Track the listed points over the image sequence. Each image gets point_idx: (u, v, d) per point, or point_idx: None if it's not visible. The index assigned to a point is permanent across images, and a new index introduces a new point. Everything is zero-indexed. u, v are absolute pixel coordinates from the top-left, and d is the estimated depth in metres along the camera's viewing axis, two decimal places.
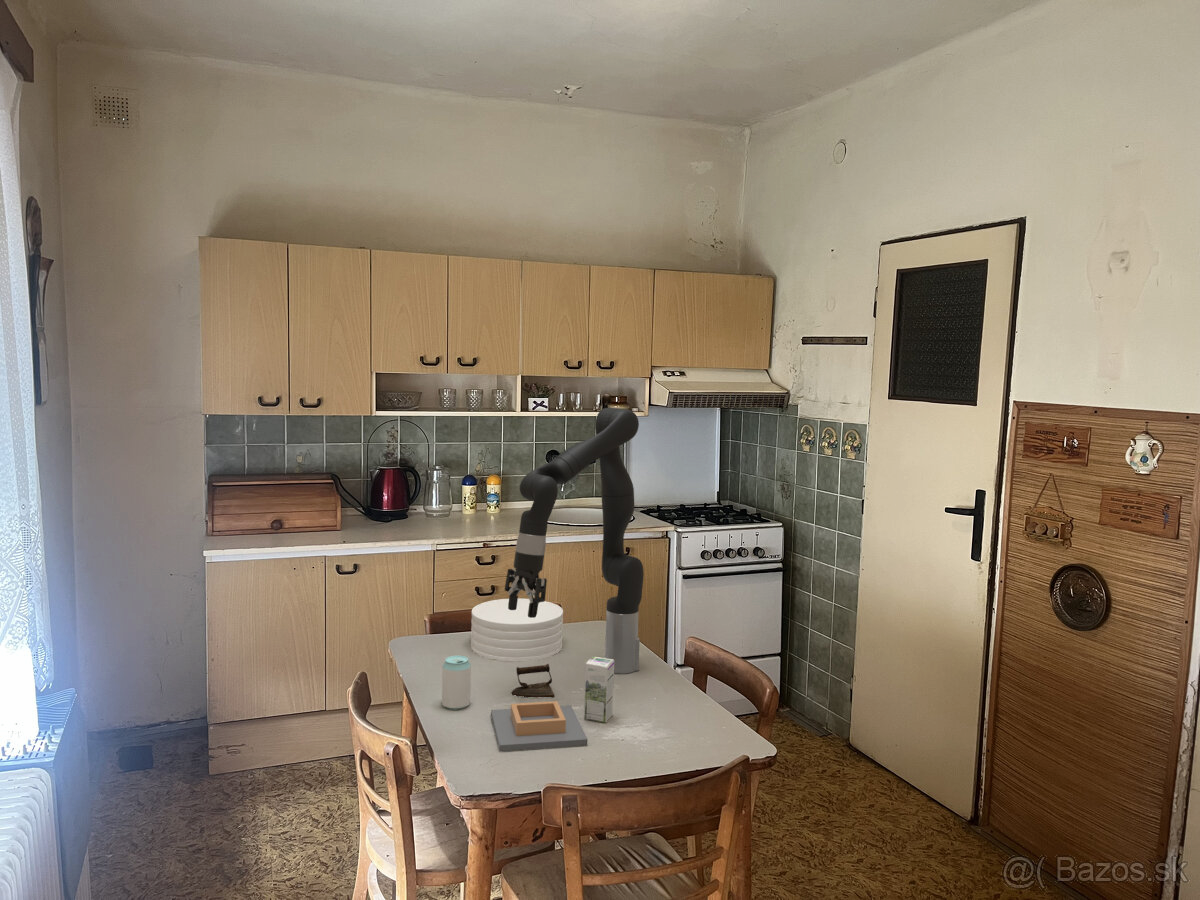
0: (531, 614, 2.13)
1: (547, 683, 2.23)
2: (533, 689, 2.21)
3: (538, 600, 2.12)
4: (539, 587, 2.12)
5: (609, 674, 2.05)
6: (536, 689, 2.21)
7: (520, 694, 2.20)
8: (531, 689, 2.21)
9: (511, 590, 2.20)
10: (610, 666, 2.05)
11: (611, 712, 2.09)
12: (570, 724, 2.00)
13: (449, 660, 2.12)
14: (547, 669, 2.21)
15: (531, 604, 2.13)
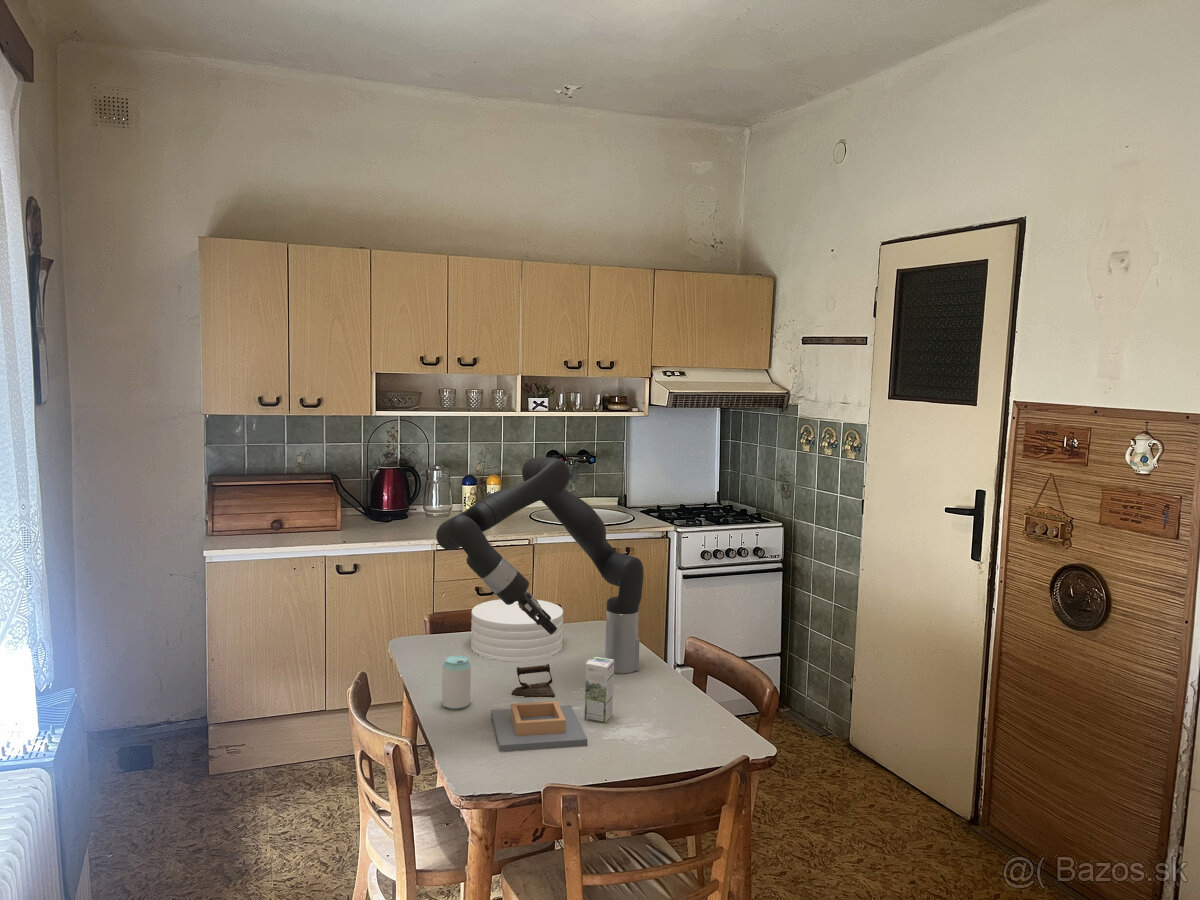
0: (549, 631, 1.98)
1: (547, 683, 2.23)
2: (533, 689, 2.21)
3: (539, 623, 1.95)
4: (529, 614, 1.95)
5: (608, 674, 2.05)
6: (536, 689, 2.21)
7: (520, 694, 2.20)
8: (531, 689, 2.21)
9: None
10: (610, 666, 2.05)
11: (611, 712, 2.09)
12: (570, 724, 2.00)
13: (449, 660, 2.12)
14: (547, 669, 2.21)
15: (541, 625, 1.98)
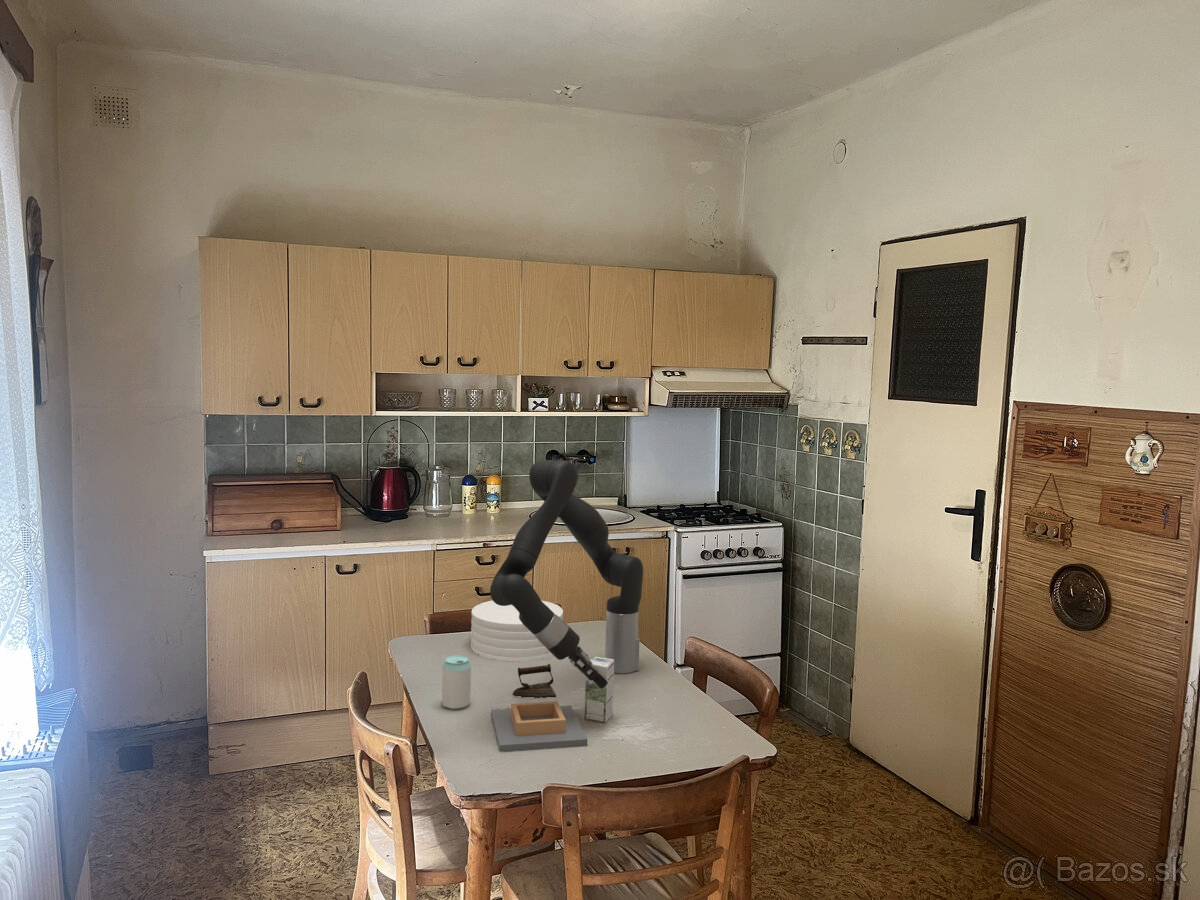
0: (600, 686, 2.02)
1: (548, 683, 2.23)
2: (535, 689, 2.21)
3: (591, 678, 1.99)
4: (581, 670, 1.99)
5: (609, 674, 2.05)
6: (537, 689, 2.21)
7: (522, 695, 2.20)
8: (533, 689, 2.20)
9: None
10: (610, 666, 2.05)
11: (611, 712, 2.09)
12: (570, 724, 2.00)
13: (449, 660, 2.12)
14: (548, 669, 2.21)
15: (593, 679, 2.02)
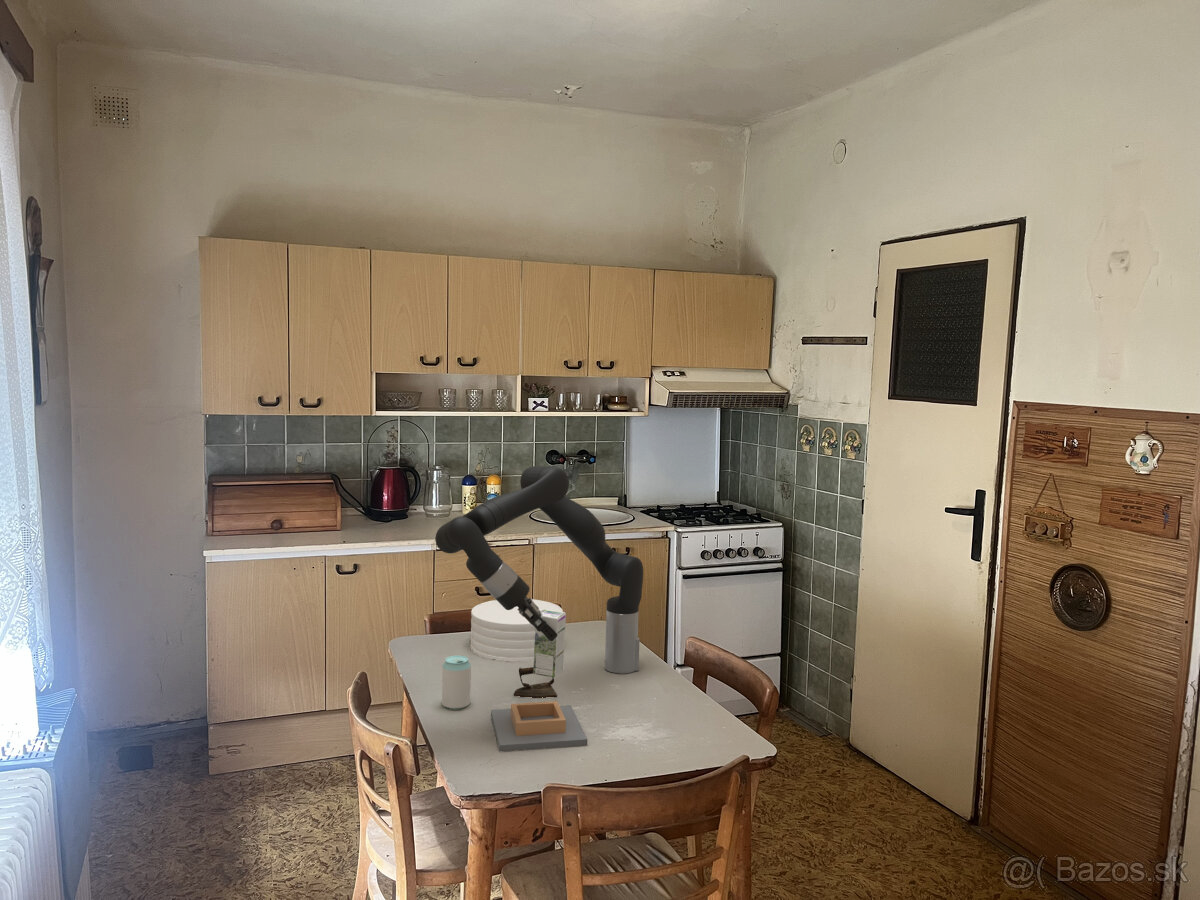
0: (550, 638, 1.94)
1: (549, 683, 2.23)
2: (536, 689, 2.20)
3: (539, 629, 1.91)
4: (529, 620, 1.90)
5: (559, 627, 1.96)
6: (538, 689, 2.21)
7: (523, 695, 2.20)
8: (534, 689, 2.20)
9: None
10: (561, 618, 1.97)
11: (562, 667, 2.00)
12: (570, 724, 2.00)
13: (449, 660, 2.12)
14: None
15: (542, 631, 1.94)
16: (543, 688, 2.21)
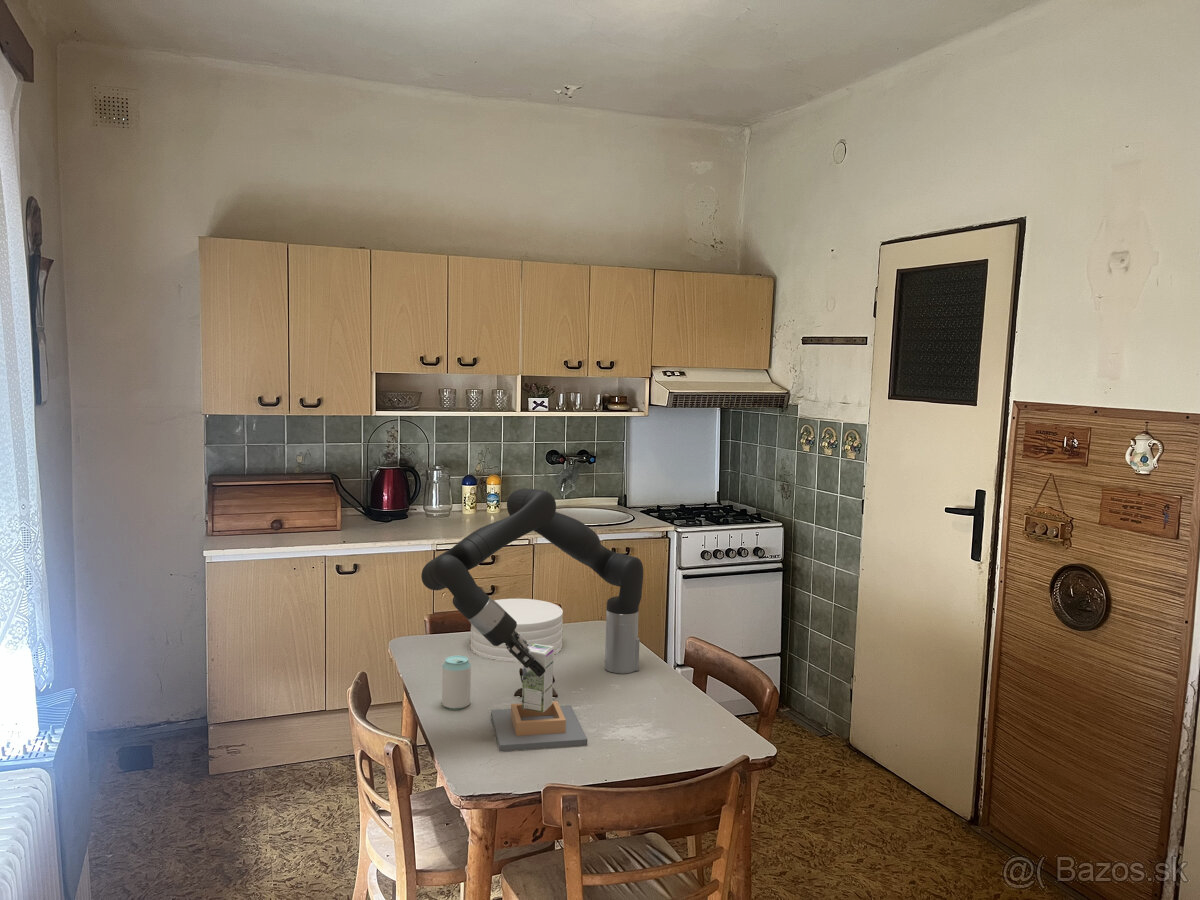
0: (538, 674, 1.93)
1: None
2: None
3: (527, 666, 1.90)
4: (516, 656, 1.90)
5: (547, 662, 1.96)
6: None
7: None
8: None
9: None
10: (548, 653, 1.97)
11: (551, 701, 2.00)
12: (570, 724, 2.00)
13: (449, 660, 2.12)
14: None
15: (529, 667, 1.93)
16: None
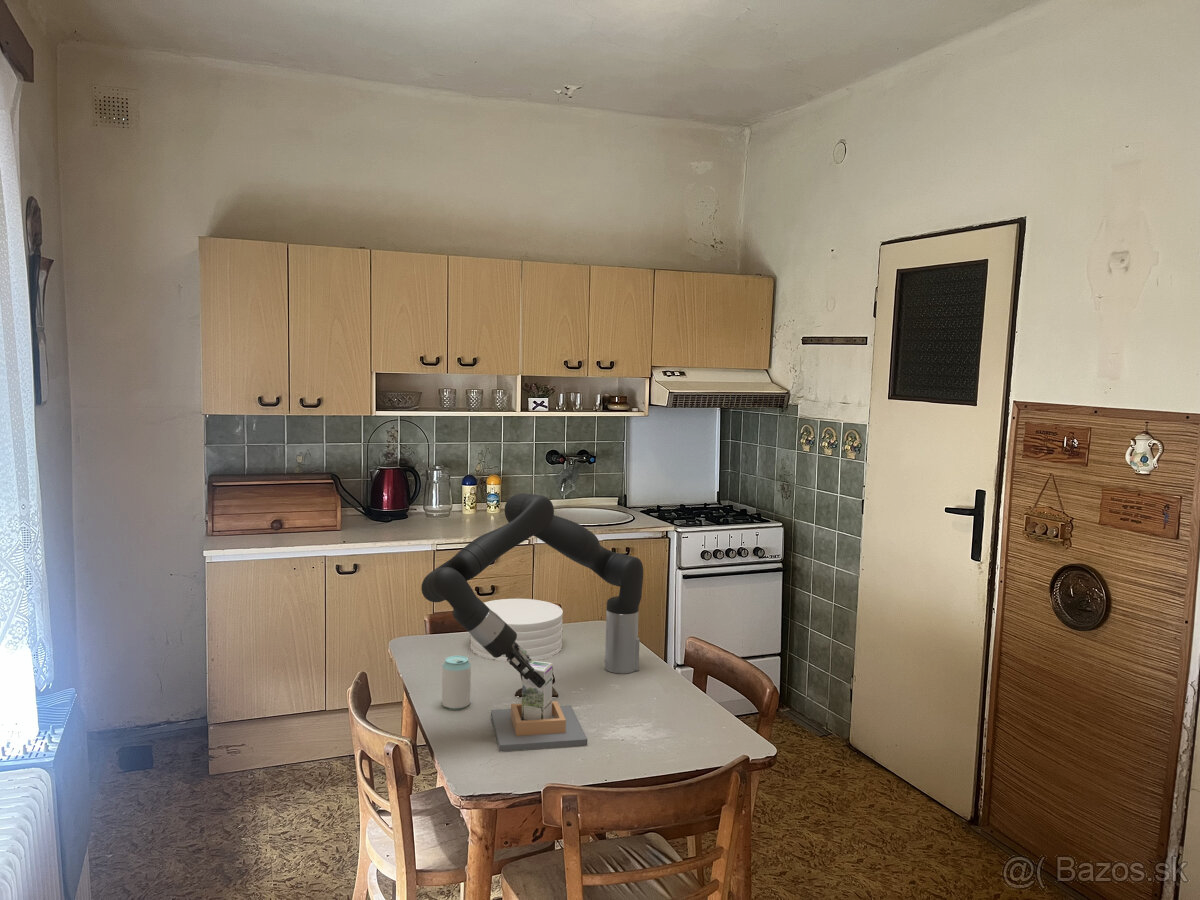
0: (538, 685, 1.94)
1: None
2: None
3: (527, 677, 1.91)
4: (516, 668, 1.90)
5: (546, 679, 1.96)
6: None
7: None
8: None
9: None
10: (547, 670, 1.97)
11: (550, 718, 2.00)
12: (570, 724, 2.00)
13: (449, 660, 2.12)
14: None
15: (530, 678, 1.93)
16: None
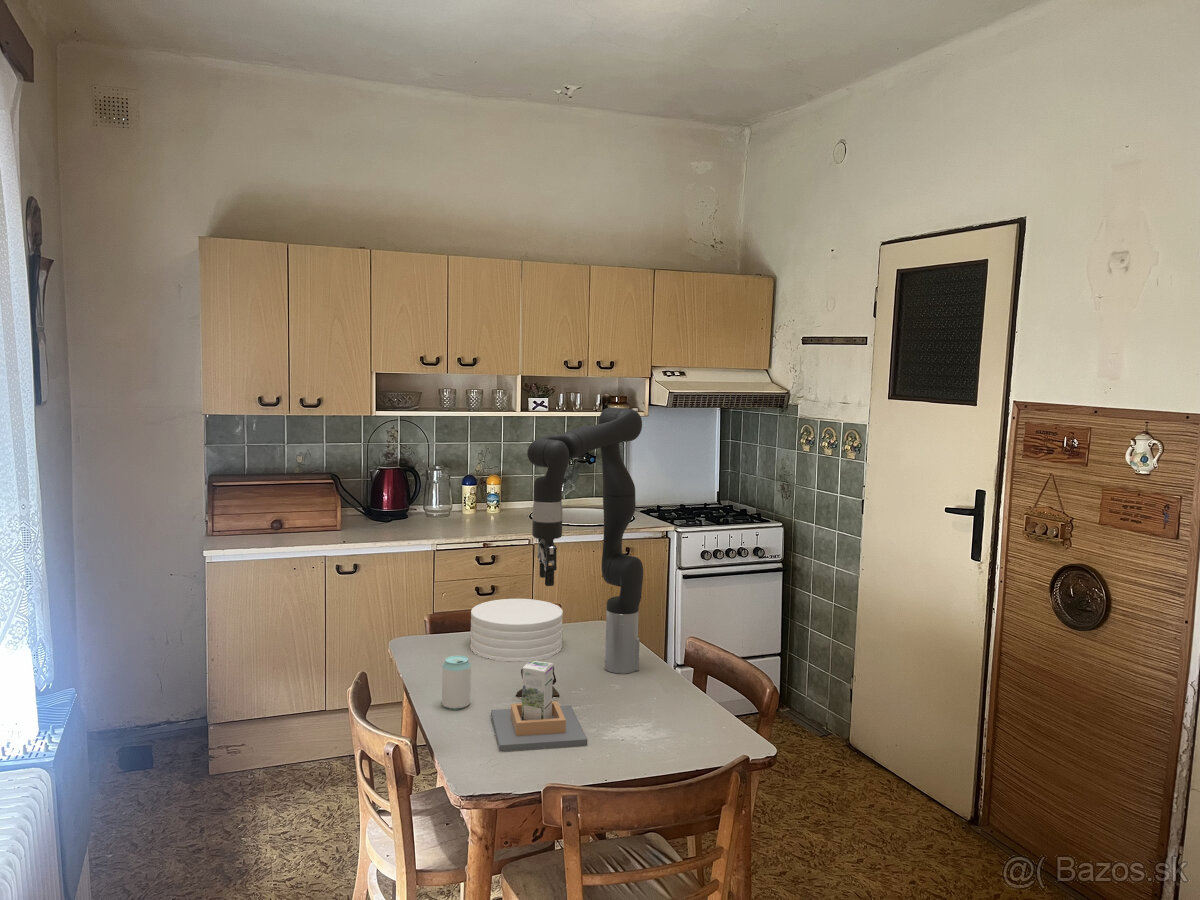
0: (547, 582, 2.09)
1: None
2: None
3: (548, 568, 2.06)
4: (547, 555, 2.06)
5: (546, 679, 1.96)
6: None
7: None
8: None
9: (539, 558, 2.17)
10: (548, 670, 1.97)
11: (550, 718, 2.00)
12: (570, 724, 2.00)
13: (449, 660, 2.12)
14: None
15: (546, 572, 2.09)
16: None
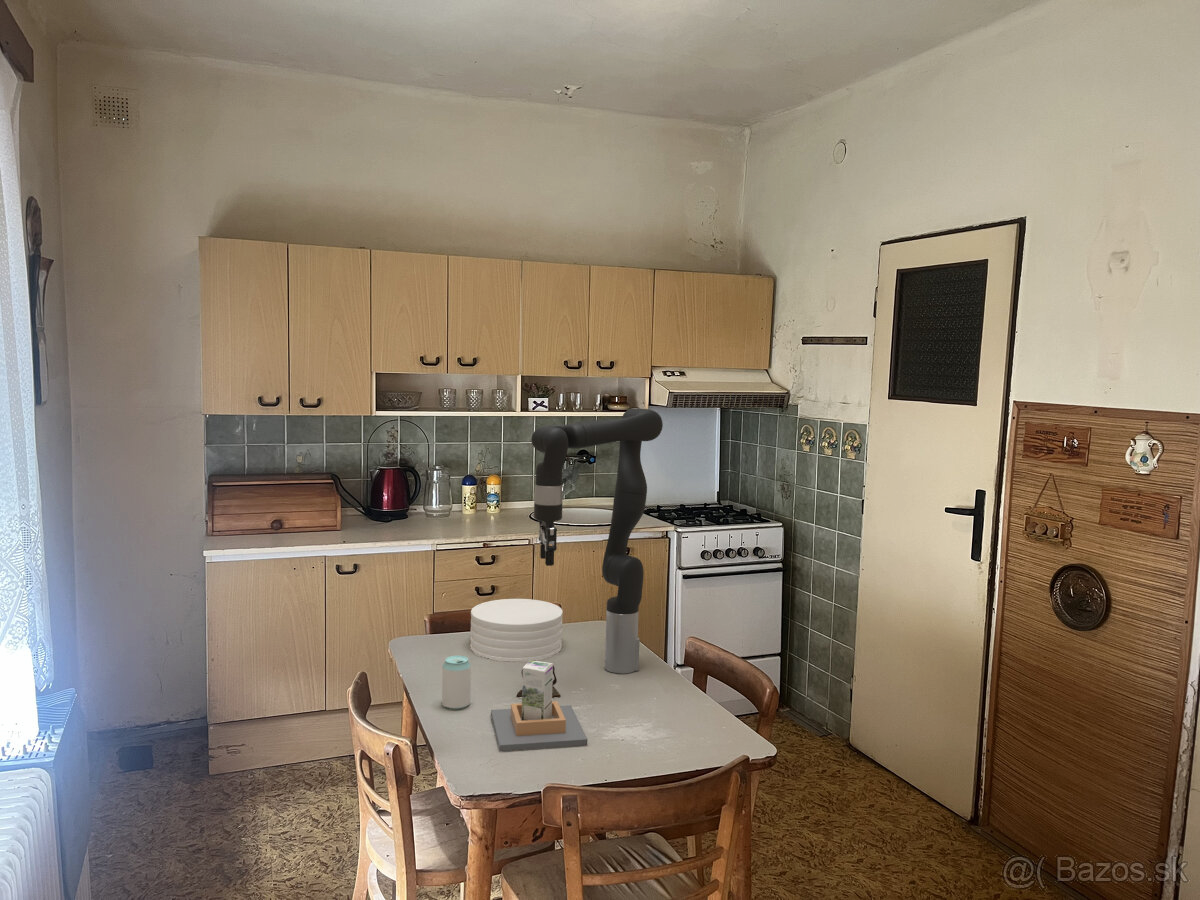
0: (547, 562, 2.20)
1: None
2: None
3: (548, 549, 2.18)
4: (548, 536, 2.17)
5: (546, 679, 1.96)
6: None
7: None
8: None
9: (540, 539, 2.28)
10: (548, 670, 1.97)
11: (550, 718, 2.00)
12: (570, 724, 2.00)
13: (449, 660, 2.12)
14: None
15: (546, 553, 2.20)
16: None
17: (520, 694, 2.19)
